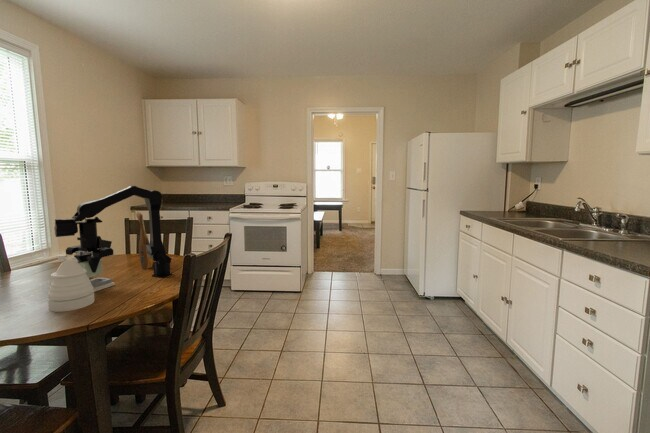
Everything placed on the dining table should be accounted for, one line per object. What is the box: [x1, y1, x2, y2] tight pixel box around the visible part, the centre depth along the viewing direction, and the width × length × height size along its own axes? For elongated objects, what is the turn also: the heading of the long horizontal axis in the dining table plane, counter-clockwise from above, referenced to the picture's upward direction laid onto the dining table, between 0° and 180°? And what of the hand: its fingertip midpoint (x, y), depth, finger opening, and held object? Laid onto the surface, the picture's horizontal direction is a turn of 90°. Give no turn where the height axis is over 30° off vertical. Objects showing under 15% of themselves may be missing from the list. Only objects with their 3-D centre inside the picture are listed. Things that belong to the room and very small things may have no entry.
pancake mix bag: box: [135, 211, 154, 270], centre depth 166 cm, size 7×19×28 cm, turn 28°
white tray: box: [89, 276, 115, 293], centre depth 132 cm, size 10×12×2 cm
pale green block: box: [79, 258, 103, 279], centre depth 131 cm, size 7×3×6 cm, turn 164°
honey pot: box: [47, 254, 95, 312], centre depth 114 cm, size 13×13×18 cm
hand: (91, 272), depth 132 cm, fingers closed on pale green block, 3 cm apart
